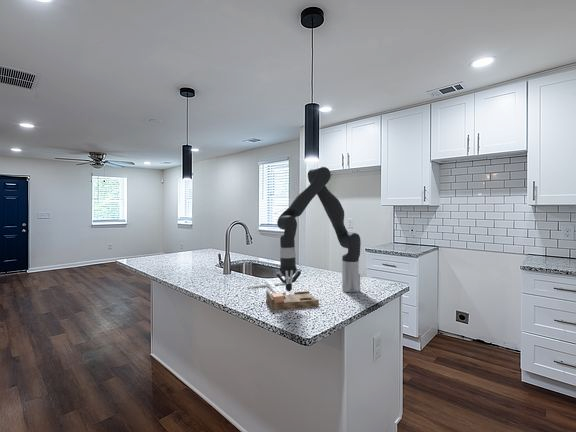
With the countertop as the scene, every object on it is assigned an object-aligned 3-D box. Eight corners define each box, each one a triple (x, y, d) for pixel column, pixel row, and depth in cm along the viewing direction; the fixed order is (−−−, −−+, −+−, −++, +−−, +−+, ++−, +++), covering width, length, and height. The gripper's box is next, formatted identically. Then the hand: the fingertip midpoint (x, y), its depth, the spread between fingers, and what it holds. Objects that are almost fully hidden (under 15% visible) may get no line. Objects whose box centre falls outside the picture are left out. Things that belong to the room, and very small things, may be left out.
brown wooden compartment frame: (308, 296, 163) (308, 287, 163) (318, 305, 148) (318, 295, 148) (266, 300, 158) (266, 290, 158) (272, 310, 142) (272, 299, 142)
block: (281, 300, 150) (281, 292, 149) (284, 304, 145) (284, 295, 145) (271, 302, 148) (271, 293, 148) (273, 305, 143) (273, 296, 143)
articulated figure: (258, 295, 158) (244, 279, 186) (258, 302, 158) (244, 285, 186) (305, 289, 168) (286, 275, 196) (305, 296, 168) (286, 281, 196)
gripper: (298, 254, 154) (299, 287, 155) (273, 255, 151) (274, 290, 152) (302, 256, 147) (303, 291, 148) (276, 258, 144) (277, 294, 145)
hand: (288, 290), depth 150 cm, fingers closed
